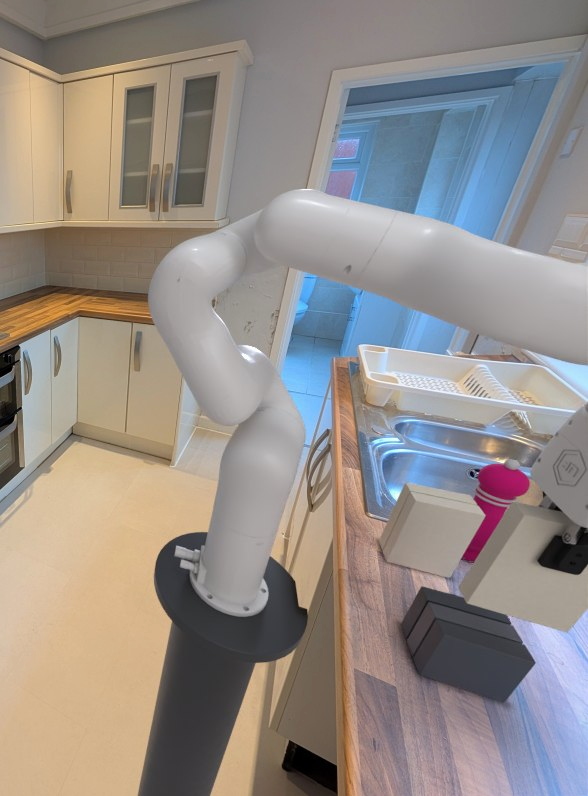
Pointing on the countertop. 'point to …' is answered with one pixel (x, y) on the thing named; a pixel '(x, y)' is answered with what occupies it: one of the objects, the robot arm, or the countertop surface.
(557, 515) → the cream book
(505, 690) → the dark grey grooved block
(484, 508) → the pepper mill
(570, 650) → the countertop surface
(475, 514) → the beige rectangular block
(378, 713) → the countertop surface
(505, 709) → the countertop surface
